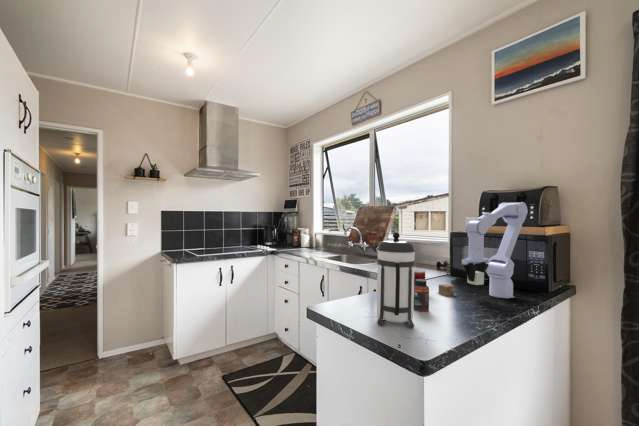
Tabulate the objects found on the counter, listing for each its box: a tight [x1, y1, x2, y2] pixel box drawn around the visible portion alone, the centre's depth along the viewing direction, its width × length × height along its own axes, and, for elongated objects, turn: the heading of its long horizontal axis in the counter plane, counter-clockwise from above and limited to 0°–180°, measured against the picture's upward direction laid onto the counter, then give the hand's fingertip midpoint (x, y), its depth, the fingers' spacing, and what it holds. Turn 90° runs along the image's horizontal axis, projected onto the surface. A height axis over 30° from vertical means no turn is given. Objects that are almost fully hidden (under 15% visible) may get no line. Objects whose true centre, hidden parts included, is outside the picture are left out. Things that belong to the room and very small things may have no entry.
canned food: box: [414, 268, 426, 285], centre depth 137 cm, size 8×8×11 cm
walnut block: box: [438, 283, 455, 297], centre depth 135 cm, size 4×4×4 cm
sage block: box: [466, 271, 485, 286], centre depth 129 cm, size 4×4×5 cm
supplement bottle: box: [413, 279, 430, 313], centre depth 115 cm, size 6×6×11 cm
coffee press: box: [376, 232, 417, 329], centre depth 100 cm, size 17×16×30 cm
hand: (475, 280), depth 129 cm, fingers closed on sage block, 4 cm apart
